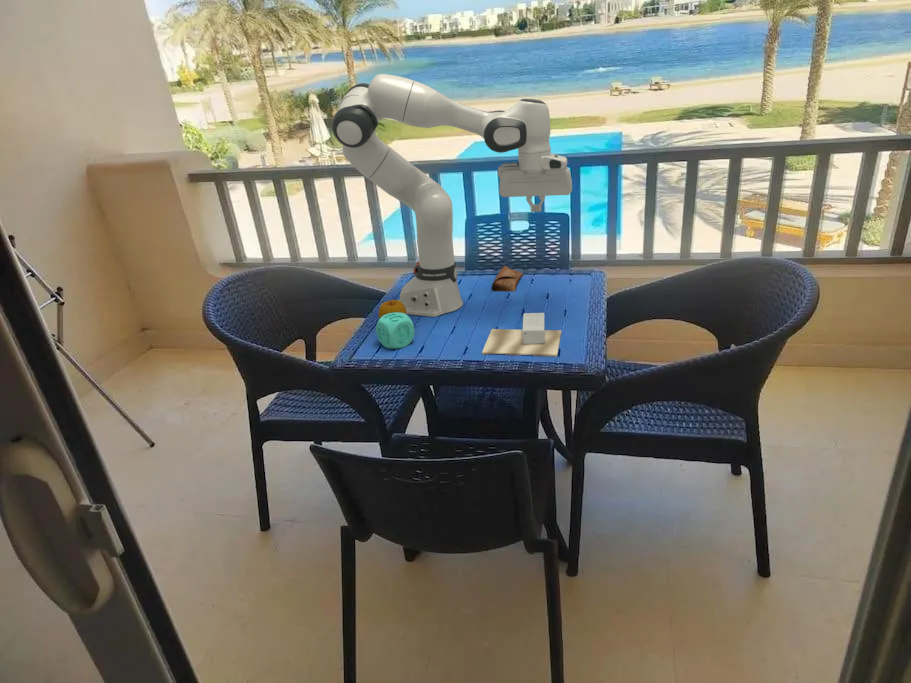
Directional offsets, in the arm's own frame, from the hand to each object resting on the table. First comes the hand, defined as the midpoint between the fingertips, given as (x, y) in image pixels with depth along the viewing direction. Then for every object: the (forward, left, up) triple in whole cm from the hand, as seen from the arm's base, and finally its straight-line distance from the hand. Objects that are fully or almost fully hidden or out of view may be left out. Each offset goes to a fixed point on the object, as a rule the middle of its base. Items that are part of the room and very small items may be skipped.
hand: (536, 211), depth 174 cm
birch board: (-2, -22, -31) cm, 38 cm away
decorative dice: (-38, -24, -31) cm, 55 cm away
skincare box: (0, -12, -28) cm, 31 cm away
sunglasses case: (-13, +26, -32) cm, 43 cm away
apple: (-42, -14, -31) cm, 54 cm away
